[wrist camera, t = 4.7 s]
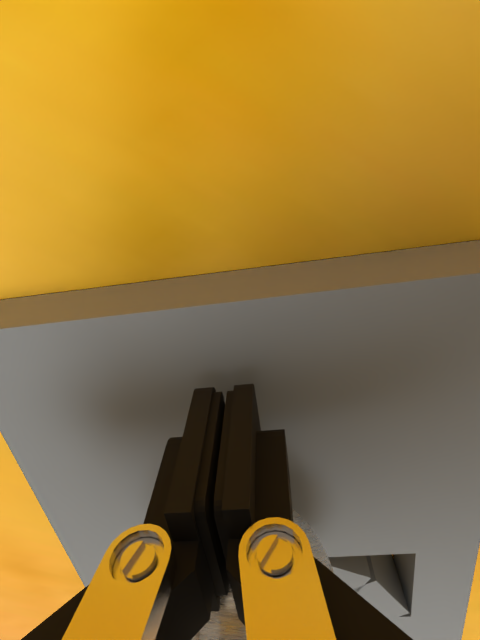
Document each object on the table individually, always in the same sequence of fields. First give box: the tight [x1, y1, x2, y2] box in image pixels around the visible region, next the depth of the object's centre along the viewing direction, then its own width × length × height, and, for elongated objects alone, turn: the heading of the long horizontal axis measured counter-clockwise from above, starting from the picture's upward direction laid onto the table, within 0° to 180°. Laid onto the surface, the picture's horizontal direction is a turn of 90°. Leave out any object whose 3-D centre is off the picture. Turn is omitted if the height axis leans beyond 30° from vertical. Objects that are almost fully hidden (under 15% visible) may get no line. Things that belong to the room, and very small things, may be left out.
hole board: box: [0, 240, 480, 640], centre depth 17 cm, size 16×24×2 cm, turn 8°
